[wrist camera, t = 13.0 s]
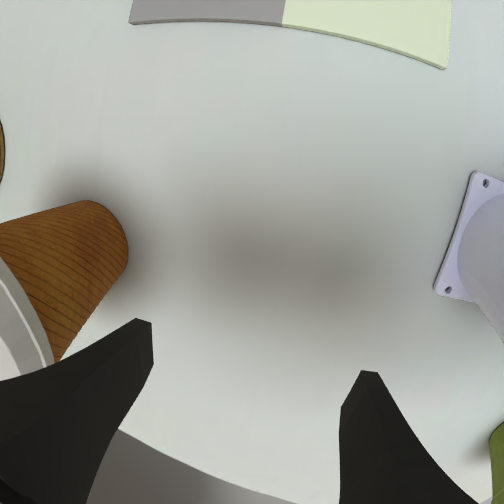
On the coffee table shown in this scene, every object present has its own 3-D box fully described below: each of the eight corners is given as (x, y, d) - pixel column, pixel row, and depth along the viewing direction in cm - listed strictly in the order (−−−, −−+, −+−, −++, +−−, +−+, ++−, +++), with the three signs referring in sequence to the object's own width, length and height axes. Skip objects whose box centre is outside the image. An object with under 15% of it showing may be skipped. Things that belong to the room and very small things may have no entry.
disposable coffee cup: (45, 171, 19) (-89, 226, 8) (152, 187, 18) (-6, 277, 7) (55, 282, 23) (-41, 364, 12) (149, 314, 22) (59, 438, 11)
